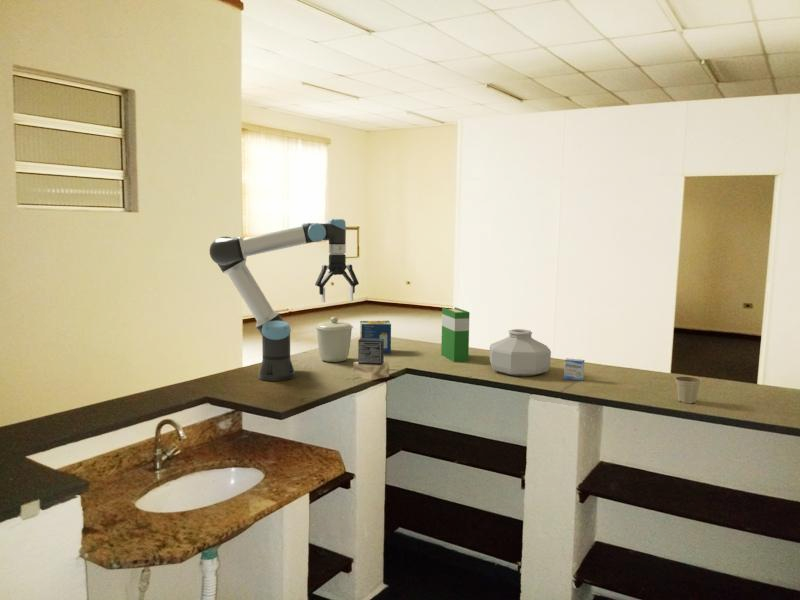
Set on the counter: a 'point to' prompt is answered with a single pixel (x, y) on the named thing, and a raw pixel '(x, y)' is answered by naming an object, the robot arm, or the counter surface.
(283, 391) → the counter surface
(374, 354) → the small box
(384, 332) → the protein box
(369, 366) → the oak block
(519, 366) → the pot
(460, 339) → the hardback book
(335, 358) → the canister
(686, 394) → the flower pot
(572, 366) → the medicine box
